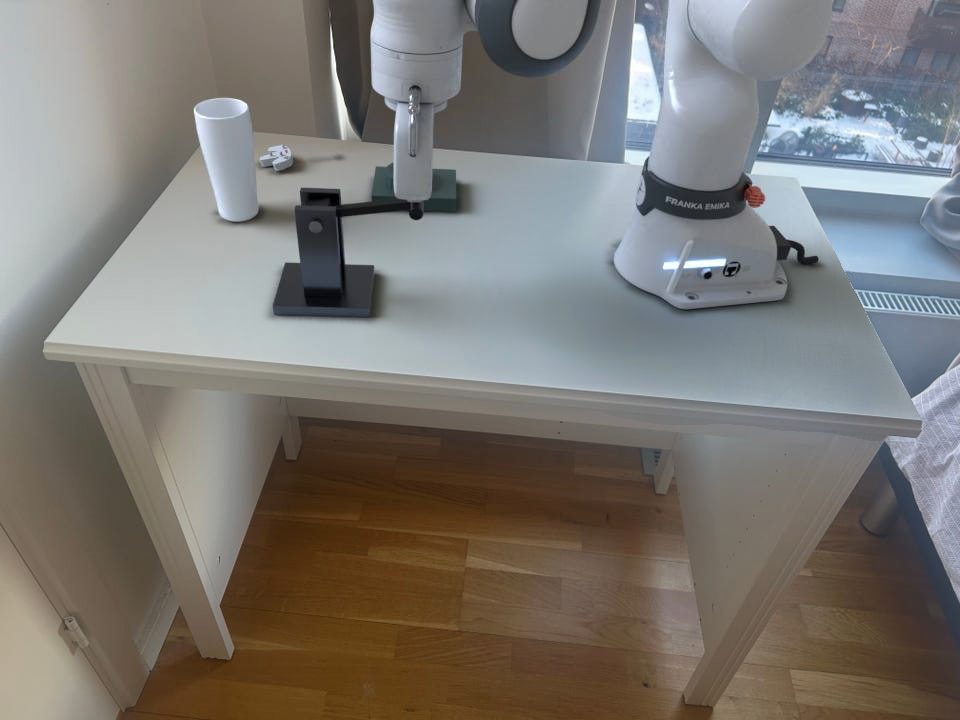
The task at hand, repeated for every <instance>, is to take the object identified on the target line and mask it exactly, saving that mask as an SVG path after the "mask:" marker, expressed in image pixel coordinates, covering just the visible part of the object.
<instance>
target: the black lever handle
mask: <svg viewBox="0 0 960 720" xmlns="http://www.w3.org/2000/svg"><path fill="white" fill-rule="evenodd" d="M304 205H306V206H332V204H331V200H330V198H324V199H315V200H306V201H305V204H304ZM333 207H336V208H337V218H338V217H342V218H347V217H348V218H349V217H356V216H365V215H374V214H375V215H376V214H385V213H392V212H404V210H409V211H408V216H409V218H410V219H411V220H413V221H420V220H421V219H422V218H423V217H424V211H423V209H424V200H422V202H420V203H415V202H408V201H407V200H405V199H389V200H380V201H372V200H371V201H361V202H353V203H344V204H342V203H341V205H333Z"/></svg>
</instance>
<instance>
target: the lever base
mask: <svg viewBox="0 0 960 720" xmlns="http://www.w3.org/2000/svg"><path fill="white" fill-rule="evenodd" d="M324 198H330V200H331V204H332V206H306V205H304V204H305V201H306V200H315V199H324ZM299 199H300V204H295V206H294V209H293V212H294V213H293V214H294V222H295V230H296V238H297V239H296V240H297V247H298V256H299V262H288V261H287V262H284V265H283V269H282V272H281V274H280V278H279V283H278V286H277V289H276V292H275V295H274V300H273V302H272V311H273V315H274V316H275V315H278V316H308V317H309V316H312V317H315V316H316V317H349V318H353V317H354V318H369V317H370V313H371V304H372V297H373V289H374V283H375V282H374V281H375V265H374V264H346V256H345V255H346V253H345V239H344V225H343V223H344V222H343V217H338V218H337V208H336V207H333V205H342V196H341V188H324V187H302V186H301V187H300V189H299Z"/></svg>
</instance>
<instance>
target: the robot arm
mask: <svg viewBox="0 0 960 720" xmlns="http://www.w3.org/2000/svg"><path fill="white" fill-rule="evenodd" d="M601 3H602V0H372V6H373V18H372V23H371V26H370V35H369V36H370V39H369V40H370V71H371V72H370V73H371V87H372V89H373V90H374V91H375V92H376V93H377V94H379V95H380V96H382V97H384V104H385V105H386V107H388V108H389V109H390V110H392V111H394V112H395V118H394V124H393V162H394V193H395V196H396V197H397V198H398V199H405V200H407V201H408V202H415V203H420V202H422V200H428V199H429V198H430V197H431V193H432V169H434V167H433V166H434V165H433V164H434V134H435V133H434V132H435V131H434V128H435V127H434V126H435V115H436V114H438V113H440V112H442V111H443V110H445V109H446V108H447V107H448V101H449V100H450V99H452V98H454V97H456V96H457V95H458V94H459V93H460V91H461V88H462V87H461V86H462V69H463V68H462V67H463V51H464V50H463V48H464V47H463V46H464V45H463V44H464V36H465V34H466V33H468V32H477V34H478V36H479V40H480V42H481V43H480V44H481V45H482V48H483V49H484V52H485V53H486V55H487V56H488V58H489V59H490V61H492V62H493V64H494V65H496V66H497V67H498V68H499V69H501V70H502V71H503V72H505V73H507V74H510V75H513V76H516V77H519V78H529V79H530V78H542V77H546V76H549V75H553V74H554V73H557V72H559V71H561V70H562V69H564V68H566V67H568V66H569V65H570V64H571V63H573V62H574V61H575V60H576V59H577V58H578V57H579V56H580V55H581V54H582V53H583V51H584V49H585V48H586V47H587V45H588V43H589V42H590V40H591V39H592V36H593V34H594V31H595V28H596V25H597V22H598V18H599V13H600V10H601ZM666 18H667V19H666V29H665V32H666V33H665V41H664V43H665V44H664V57H663V58H664V61H663V62H664V63H663V79H662V80H663V81H662V92H661V99H660V105H659V109H658V110H659V111H658V115H657V119H656V124H655V127H654V128H655V129H654V132H653V137H652V142H651V147H650V150H649V151H650V152H649V155H648V156H647V158H646V159H645V160H644V163H643V166H642V170H641V174H640V176H639V179H638V183H637V186H636V187H637V188H636V193H635V207H634V210H633V213H632V217H631V219H630V222H629V224H628V226H627V230H626V232H625V234H624V235H623V237H622V240H621V241H620V243H619V245H618V247H617V248H616V250H615V252H614V254H613V264H614V267H615V269H616V270H617V272H618V273H619V274H620V275H621V277H622V278H623V279H625V280H626V281H627V282H628V283H630V284H631V285H633V286H635V287H637V288H639V289H640V290H643V291H645V292H647V293H650V294H653V295H656V296H658V297H660V298H662V299H663V300H664V301H666V302H667V303H668V304H670V305H671V306H673V307H675V308H677V309H680V310H692V309H704V308H715V307H724V306H735V305H744V304H755V303H756V304H757V303H764V302H766V303H767V302H775V301H781V300H783V299H785V297H786V293H787V290H788V279H787V275H786V272H785V270H784V269H783V266H782V265H781V263H780V262H779V261H786V260H788V256H789V254H790V251H791V249H794V250H795V251H796V260H797V262H798V263H800V264H801V265H811V264H817V263H818V262H819V257H818V256H817V255H811V256H805V255H806V250H805V247H804V246H803V244H801V243H800V242H799V241H795V240H792V239H787V238H785V236H784V234H782V232H781V231H780V230H779V229H778V228H777V227H776V226H775V225H769V224H768V223H767V222H766V221H765V219H764V218H763V216H761V215H760V214H759V213H758V212H757V211H756V210H755V209H757V208H760V207H761V206H763V205H764V202H766V195H765V193H763V192H762V190H761V188H760V187H759V186H757V185H753V181H752V179H751V178H750V176H749V175H747V174H746V173H745V172H743V169H744V167H745V164H746V162H747V157H748V154H749V151H750V148H751V145H752V141H753V139H754V135H755V132H756V129H757V126H758V123H759V119H760V117H759V116H760V103H759V102H760V101H759V96H758V81H763V82H773V81H779V80H782V79H785V78H787V77H791V76H792V75H794V74H796V73H797V72H799V71H801V70H802V69H803V68H804V67H807V65H808V64H810V62H811V61H812V60H813V59H814V58H815V57H816V56H817V55H818V54H819V52H820V50H821V49H822V48H823V45H824V44H825V42H826V40H827V38H828V36H829V32H830V30H831V26H832V20H833V5H832V0H667V17H666Z"/></svg>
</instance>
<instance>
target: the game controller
mask: <svg viewBox="0 0 960 720" xmlns="http://www.w3.org/2000/svg"><path fill="white" fill-rule="evenodd" d="M267 152H268V154H265V155H263V156H260V157H259V162H260V165H261V167H263V168H266V167H271V166H273V169H274V171H275V172H279V171H282V170H285V169H288V168H290V167H292V166H293V164H294V158H295V157H297V158H298V157H300V156H301V155H303V154H304V155H305V152H303V153H300V154H299V155H294V156H293V155H292V151H291V149H290V148H289V147H288V146H287V145H285V144H284V143H282V144H280V145H274V146H270V147H268V148H267ZM308 154H310V155H313V157H315V158H316V156H315V155H314V154H312V153H311V152H310V153H309V152H308ZM328 155H329V153H327V154H326V155H325V156H323V158H325V157H326V156H328ZM335 155H337V156H338V154H335Z"/></svg>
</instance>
